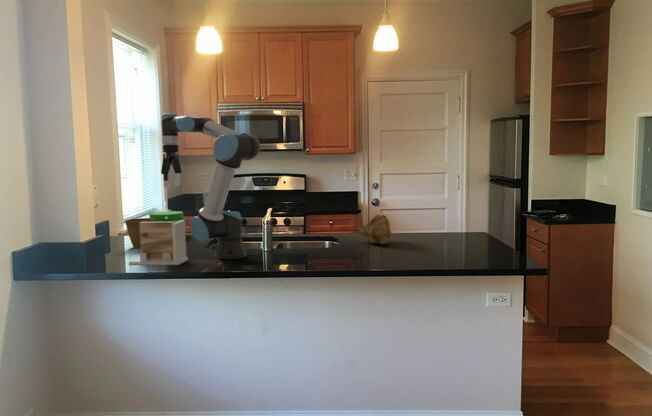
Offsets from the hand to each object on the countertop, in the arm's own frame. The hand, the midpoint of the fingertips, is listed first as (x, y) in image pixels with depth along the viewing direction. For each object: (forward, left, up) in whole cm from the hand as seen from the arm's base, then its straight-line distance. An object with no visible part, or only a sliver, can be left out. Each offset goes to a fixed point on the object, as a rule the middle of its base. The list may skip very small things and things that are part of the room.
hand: (172, 186), depth 271 cm
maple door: (-11, +18, -34) cm, 39 cm away
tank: (+44, -25, -35) cm, 62 cm away
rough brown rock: (-68, -85, -35) cm, 114 cm away
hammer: (+17, -42, -35) cm, 57 cm away
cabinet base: (-11, +18, -35) cm, 41 cm away
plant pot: (+31, -1, -35) cm, 47 cm away
